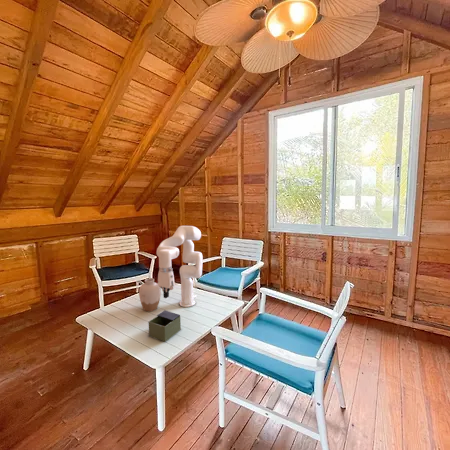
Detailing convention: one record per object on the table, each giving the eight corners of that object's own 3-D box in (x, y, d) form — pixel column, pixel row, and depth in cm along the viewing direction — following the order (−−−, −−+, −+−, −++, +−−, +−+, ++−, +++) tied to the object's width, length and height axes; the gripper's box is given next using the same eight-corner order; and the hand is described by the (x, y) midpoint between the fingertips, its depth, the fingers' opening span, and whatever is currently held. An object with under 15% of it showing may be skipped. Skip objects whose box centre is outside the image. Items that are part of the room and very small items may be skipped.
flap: (164, 310, 167) (164, 310, 167) (180, 315, 161) (180, 314, 161) (157, 315, 161) (157, 315, 161) (172, 320, 155) (172, 320, 155)
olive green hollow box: (165, 324, 169) (164, 311, 168) (180, 329, 163) (180, 316, 162) (148, 335, 156) (148, 321, 154) (165, 341, 150) (164, 327, 148)
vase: (162, 302, 201) (161, 275, 197) (160, 312, 185) (159, 283, 182) (141, 304, 198) (140, 276, 195) (138, 314, 183) (136, 284, 179)
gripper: (178, 269, 155) (179, 297, 158) (160, 265, 162) (161, 292, 165) (170, 272, 148) (171, 302, 151) (152, 269, 155) (153, 297, 158)
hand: (166, 297), depth 158 cm, fingers closed
